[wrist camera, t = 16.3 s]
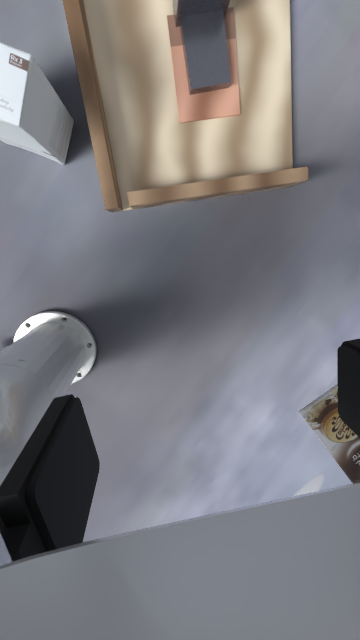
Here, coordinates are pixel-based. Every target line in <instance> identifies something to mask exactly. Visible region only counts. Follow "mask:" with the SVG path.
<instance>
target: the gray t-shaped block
mask: <svg viewBox="0 0 360 640" xmlns="http://www.w3.org/2000/svg"><path fill="white" fill-rule="evenodd" d="M229 3H230V0H173V12H174V19H175V26H176V27H179V26H180V31H181V38H182V45H183V52H184V59H185V66H186V73H187V80H188V87H189V94H190V95H193V94H198V93H204V92H209V91H215V90H220V89H226V88H228V87H229V85H230V83H231V78H230V69H229V59H228V49H227V40H226V30H225V20H224V18H225V16H226V13H227V10H228V6H229Z"/></svg>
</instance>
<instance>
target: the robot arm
mask: <svg viewBox="0 0 360 640" xmlns="http://www.w3.org/2000/svg"><path fill="white" fill-rule="evenodd" d="M64 317H65V318H67V320H66V319H65V318H64ZM29 323H30V324H31V325H30V324H29ZM89 343H91V344H92V345H90V344H89ZM95 358H96V343H95V339H94V337H93V335H92V333H91V331H90V330H89V328H88V327H87V326H86V325H85V324H84V323H83V322H82V321H80V320H79V319H77V318H76V317H74V316H72V315H70V314H67V313H64V312H58V311H45V312H41V313H38V314H35V315H33V316H31V317H30V318H28V319H27V320H25V321H24V322H23V323H22V324H21V325H20V327H19V328H18V330H17V331H16V334H15V336H14V341H13V344H12V345H10V346H6V347H5V348H4V349H2V350H0V640H360V483H356V484H351V485H346V486H341V487H337V488H332V489H327V490H322V491H318V492H313V493H308V494H304V495H299V496H294V497H289V498H284V499H280V500H275V501H270V502H266V503H261V504H256V505H252V506H247V507H242V508H237V509H233V510H228V511H223V512H219V513H214V514H210V515H205V516H201V517H196V518H191V519H187V520H182V521H178V522H173V523H168V524H164V525H159V526H155V527H150V528H146V529H141V530H136V531H132V532H127V533H123V534H118V535H114V536H109V537H105V538H100V539H96V540H91V541H87V542H83V537H84V533H85V529H86V525H87V520H88V516H89V512H90V507H91V503H92V499H93V494H94V490H95V486H96V482H97V477H98V473H99V458H98V455H97V452H96V449H95V445H94V442H93V439H92V436H91V433H90V429H89V426H88V423H87V420H86V417H85V413H84V410H83V407H82V404H81V401H80V399H79V398H78V397H77V398H75V397H74V396H73V395H72V394H71V395H66V396H65V394H66V392H67V390H68V389H69V387H70V385H71V384H73V383H75V382H77V381H79V380H81V379H82V378H83V377H85V376H86V375H87V374H88V372H89V371H90V370H91V368H92V366H93V364H94V362H95ZM338 414H339V416H340V418H341V420H342V421H343V422H344V423H345V424H346V425H347V426H348V427H349V428H350V429H351V430H352V431H353V432H354V433H355V434H356V435H357V436H358V437H359V438H360V339H355V340H350V341H345V342H343V343H342V345H341V346H340V347H339V348H338ZM82 542H83V543H82Z"/></svg>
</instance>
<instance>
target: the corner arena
mask: <svg viewBox="0 0 360 640" xmlns="http://www.w3.org/2000/svg"><path fill="white" fill-rule="evenodd" d="M63 4H64V9H65V14H66V19H67V24H68V29H69V34H70V39H71V43H72V48H73V53H74V58H75V63H76V68H77V73H78V78H79V83H80V87H81V92H82V97H83V102H84V107H85V112H86V117H87V122H88V127H89V131H90V136H91V141H92V146H93V151H94V156H95V161H96V166H97V170H98V175H99V180H100V185H101V190H102V195H103V200H104V205H105V210H108V211H110V212H118V211H125V210H132V209H139V208H146V207H153V206H160V205H167V204H174V203H181V202H188V201H195V200H202V199H209V198H216V197H223V196H229V195H236V194H243V193H250V192H257V191H264V190H271V189H278V188H285V187H291V186H293V185H296V184H299V183H302V182H305V181H308V166H307V167H300V168H293V160H292V100H291V41H290V0H230V3H229V6H228V10H227V13H226V16H225V18H224V20H225V30H226V40H227V49H228V59H229V69H230V78H231V83H230V85H229V87H228V88H226V89H220V90H215V91H209V92H204V93H198V94H193V95H190V94H189V87H188V80H187V73H186V66H185V59H184V52H183V45H182V38H181V31H180V26H179V27H176V26H175V19H174V12H173V0H63Z"/></svg>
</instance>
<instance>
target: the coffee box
mask: <svg viewBox="0 0 360 640" xmlns="http://www.w3.org/2000/svg"><path fill="white" fill-rule="evenodd" d="M299 413H300V414H301V416H302V417H303V418H304V419H305V421H306V422H307V423H308V425H309V426H310V427H311V429H312V430H313V431H314V433H315V434H316V435H317V437H318V438H319V439H320V441H321V442H322V443H323V445H324V446H325V447H326V449H327V450H328V451H329V453H330V454H331V455H332V457H333V458H334V459H335V460H336V462H337V463H338V464H339V466H340V467H341V468H342V470H343V471H344V472H345V474H346V475H347V476H348V478H349V479H350V480H351V482H352V483H353V484H356V483H360V438H359V437H358V436H357V435H356V434H355V433H354V432H353V431H352V430H351V429H350V428H349V427H348V426H347V425H346V424H345V423H344V422H343V421H342V420H341V418H340V416H339V414H338V385H337V386H335V387H334V388H332V389H331V390H329V391H328V392H327V393H325V394H324V395H322V396H321V397H319V398H318V399H317V400H315V401H314V402H312V403H311V404H309V405H308V406H306V407H305V408H304V409H302V410H301V411H299Z"/></svg>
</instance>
